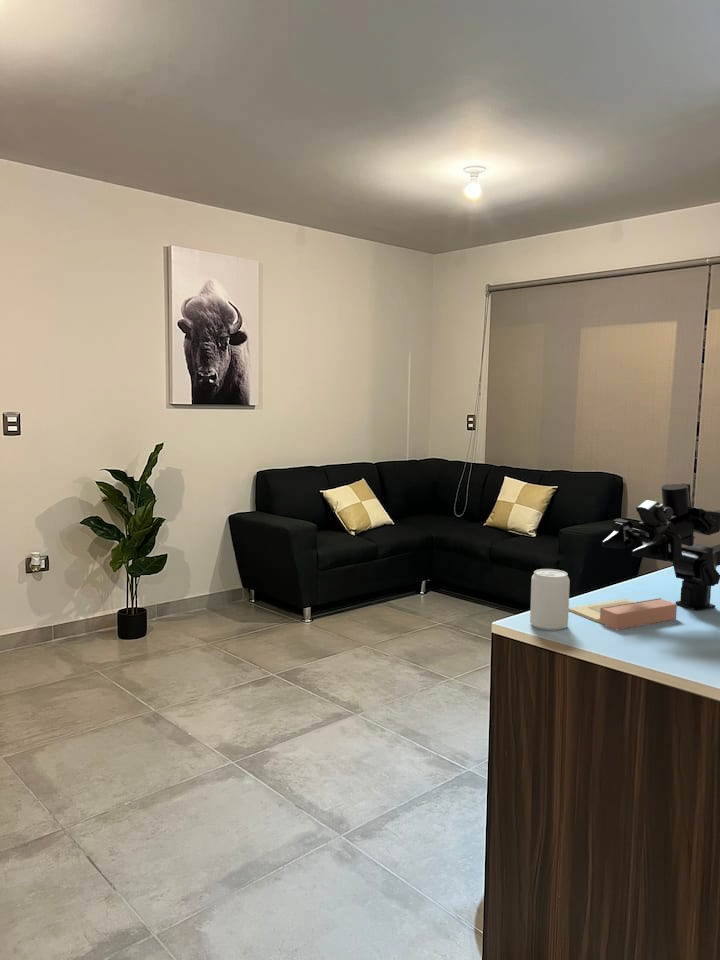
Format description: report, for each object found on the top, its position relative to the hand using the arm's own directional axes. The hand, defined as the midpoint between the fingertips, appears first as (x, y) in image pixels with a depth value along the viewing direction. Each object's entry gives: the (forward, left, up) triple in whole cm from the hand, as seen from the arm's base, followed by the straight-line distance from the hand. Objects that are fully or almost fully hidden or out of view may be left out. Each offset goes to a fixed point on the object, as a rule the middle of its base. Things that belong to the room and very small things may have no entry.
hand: (617, 548), depth 165 cm
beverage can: (+17, -2, -17) cm, 24 cm away
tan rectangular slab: (-4, -4, -16) cm, 17 cm away
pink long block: (-4, +4, -16) cm, 17 cm away
